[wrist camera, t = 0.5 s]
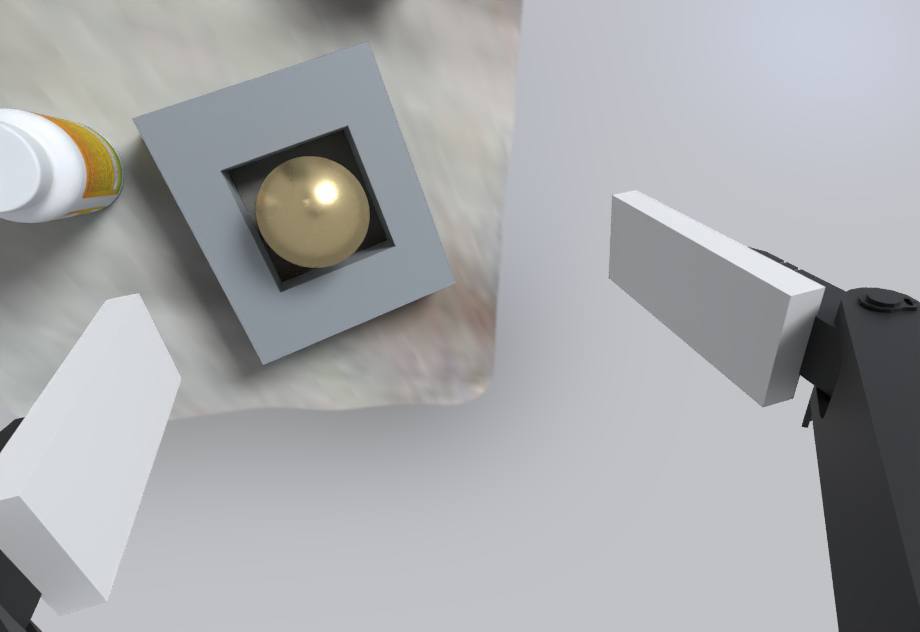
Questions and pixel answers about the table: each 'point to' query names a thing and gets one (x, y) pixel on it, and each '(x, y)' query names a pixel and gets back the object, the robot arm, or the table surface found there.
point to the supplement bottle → (54, 168)
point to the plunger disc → (312, 212)
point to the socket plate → (273, 131)
